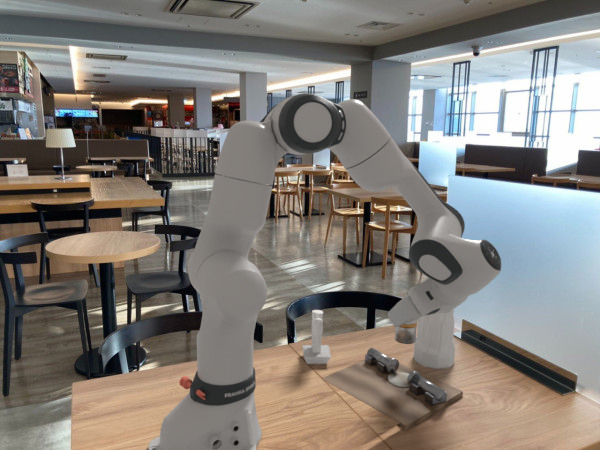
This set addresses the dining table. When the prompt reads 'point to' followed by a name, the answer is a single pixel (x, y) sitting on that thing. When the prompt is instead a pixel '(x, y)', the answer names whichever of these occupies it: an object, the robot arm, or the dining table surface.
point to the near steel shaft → (426, 389)
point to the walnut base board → (390, 392)
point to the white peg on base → (316, 342)
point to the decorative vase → (435, 341)
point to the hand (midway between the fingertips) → (404, 320)
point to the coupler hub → (406, 333)
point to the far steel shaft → (381, 361)
